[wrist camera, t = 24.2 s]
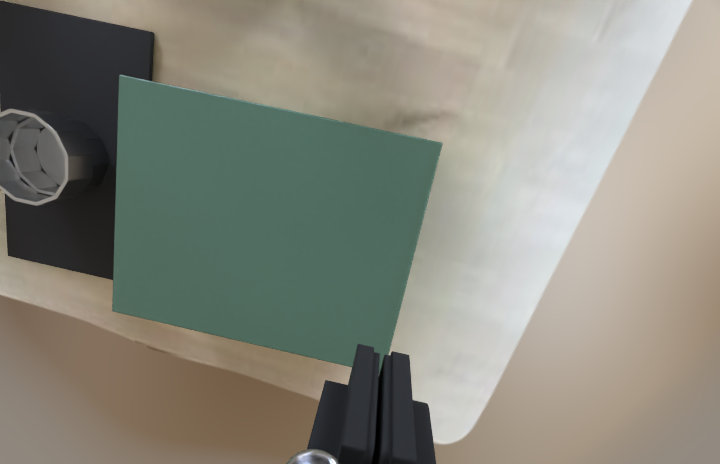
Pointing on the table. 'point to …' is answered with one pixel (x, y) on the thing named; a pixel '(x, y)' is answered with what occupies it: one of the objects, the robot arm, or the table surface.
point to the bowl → (48, 157)
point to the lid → (264, 221)
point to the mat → (77, 101)
